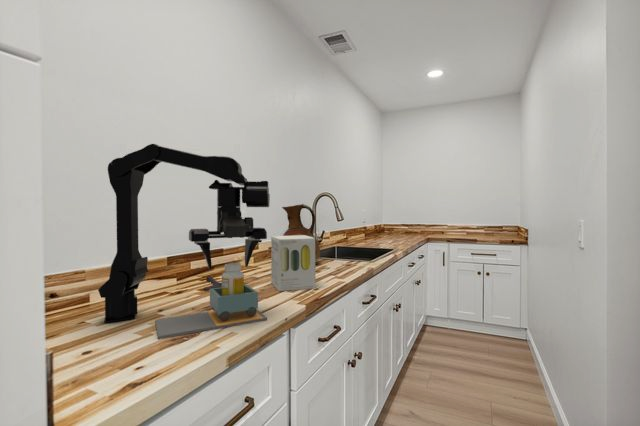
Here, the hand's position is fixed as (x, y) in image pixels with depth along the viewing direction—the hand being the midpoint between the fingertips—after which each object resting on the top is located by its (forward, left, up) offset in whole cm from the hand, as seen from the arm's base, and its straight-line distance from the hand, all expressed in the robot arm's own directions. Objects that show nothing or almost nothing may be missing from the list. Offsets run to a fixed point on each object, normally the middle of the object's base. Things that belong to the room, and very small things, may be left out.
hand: (228, 267), depth 84 cm
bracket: (+5, +37, -13) cm, 40 cm away
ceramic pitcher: (+50, +61, -12) cm, 80 cm away
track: (-5, -3, -12) cm, 13 cm away
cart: (0, -3, -12) cm, 12 cm away
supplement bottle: (0, -3, -9) cm, 9 cm away
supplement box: (+28, +21, -12) cm, 37 cm away
